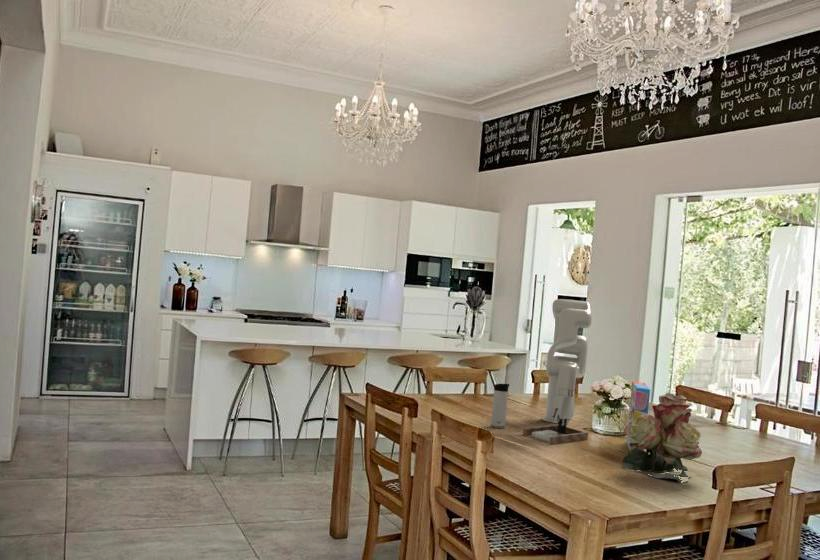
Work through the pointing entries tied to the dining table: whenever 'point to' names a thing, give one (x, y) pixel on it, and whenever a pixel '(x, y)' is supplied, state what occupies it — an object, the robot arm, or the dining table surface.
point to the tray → (570, 436)
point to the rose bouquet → (663, 439)
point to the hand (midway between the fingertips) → (561, 434)
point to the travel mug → (499, 405)
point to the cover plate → (545, 435)
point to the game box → (638, 404)
